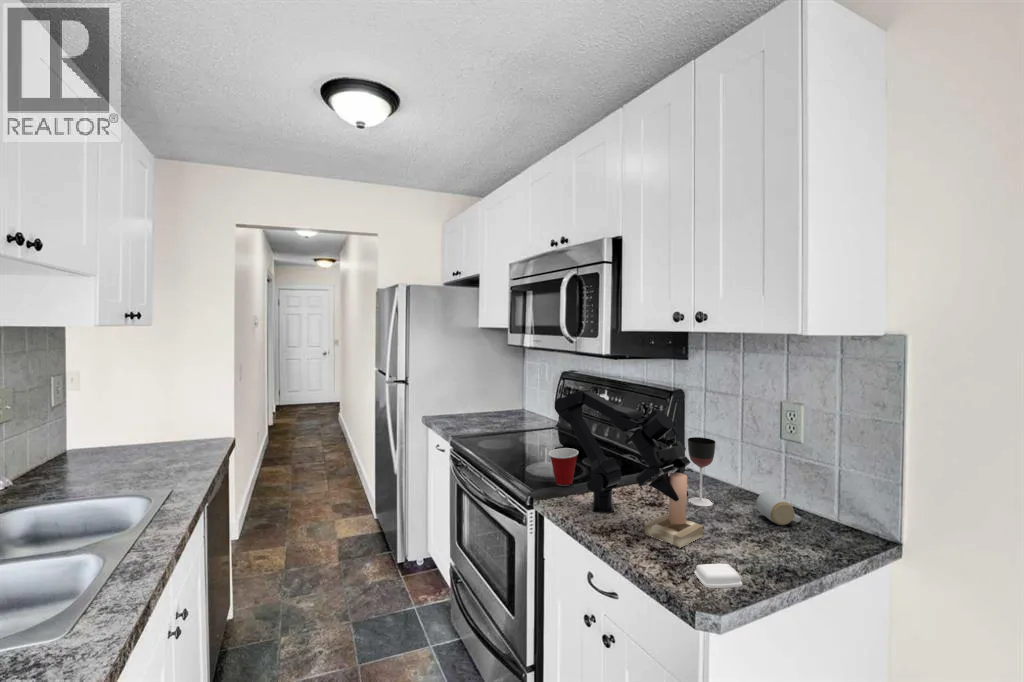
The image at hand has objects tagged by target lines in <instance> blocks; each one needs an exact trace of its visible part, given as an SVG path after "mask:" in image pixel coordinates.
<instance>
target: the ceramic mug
mask: <svg viewBox="0 0 1024 682" xmlns="http://www.w3.org/2000/svg"><path fill="white" fill-rule="evenodd" d="M755 503H756V508H757V510H758V512H759V513H760V514H761V515H763V516H764V517H765V518H766V519H768V520H770V521H771V522H772V523H774V524H776V525H779V526H786V525H788V524H790V523H791V522H792V521H793V522H795V523H800V521H801V519H802V518H801V516H800V515H798V514H797V513H795V510H794V507H793V505H792V504H791V503H790V502H789V501H788V500H786V499H785V498H784V497H782V496H781V495H780V494H779V493H777V492H775V491H773V490H765V491H763V492H761V493H760V494H759V495H758V496H757V499H756V501H755Z"/></svg>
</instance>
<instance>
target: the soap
mask: <svg viewBox="0 0 1024 682" xmlns="http://www.w3.org/2000/svg"><path fill="white" fill-rule="evenodd" d="M695 567H696V568H695V570H694V573H695V574H694V576H695V575H696V576H697V578H698V580H699V583H700V582H701V583H702V584H703V585H704V586H705V588H706V587H708V588H707V589H725V588H726V589H729V588H731V589H732V588H742V587H743V582H742V581H741V575H739V573H738V571H736V570H735V569H734V568H733V566H731V565H730V564H729V563H707V564H706V563H705V564H697V565H696V566H695ZM696 576H695V577H696ZM697 578H696V579H697ZM701 583H700V584H701ZM702 584H701V585H702ZM703 585H702V586H703ZM704 586H703V587H704Z"/></svg>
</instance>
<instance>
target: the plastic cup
mask: <svg viewBox="0 0 1024 682" xmlns="http://www.w3.org/2000/svg"><path fill="white" fill-rule="evenodd" d="M578 455H579V450H577V449H575V448H569V447H562V448H561V447H559V448H556V449H552V450H550V451H549V452H548V456H549V458H550V461H551V466H552V471H553V476H554V481H555V485H556V484H561V485H568V484H572V485H573V482H574V475H575V470H576V464H577V460H578V459H577V458H578Z"/></svg>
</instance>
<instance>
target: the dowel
mask: <svg viewBox="0 0 1024 682" xmlns="http://www.w3.org/2000/svg"><path fill="white" fill-rule="evenodd" d="M670 484H671V486H672V487H673V489H674V491H675V492H676V494H677V496H678V498H679V500H678V501H674V500H673V499H671V498H670V497H669V499H668V503H669V504H668V514H669V521H670V522H672V523H675V524H684V523H686V520H687V503H688V502H687V500H688V499H687V498H688V496H687V491H688V475H687V474H685V473H683V474H682V473H671V474H670Z"/></svg>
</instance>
